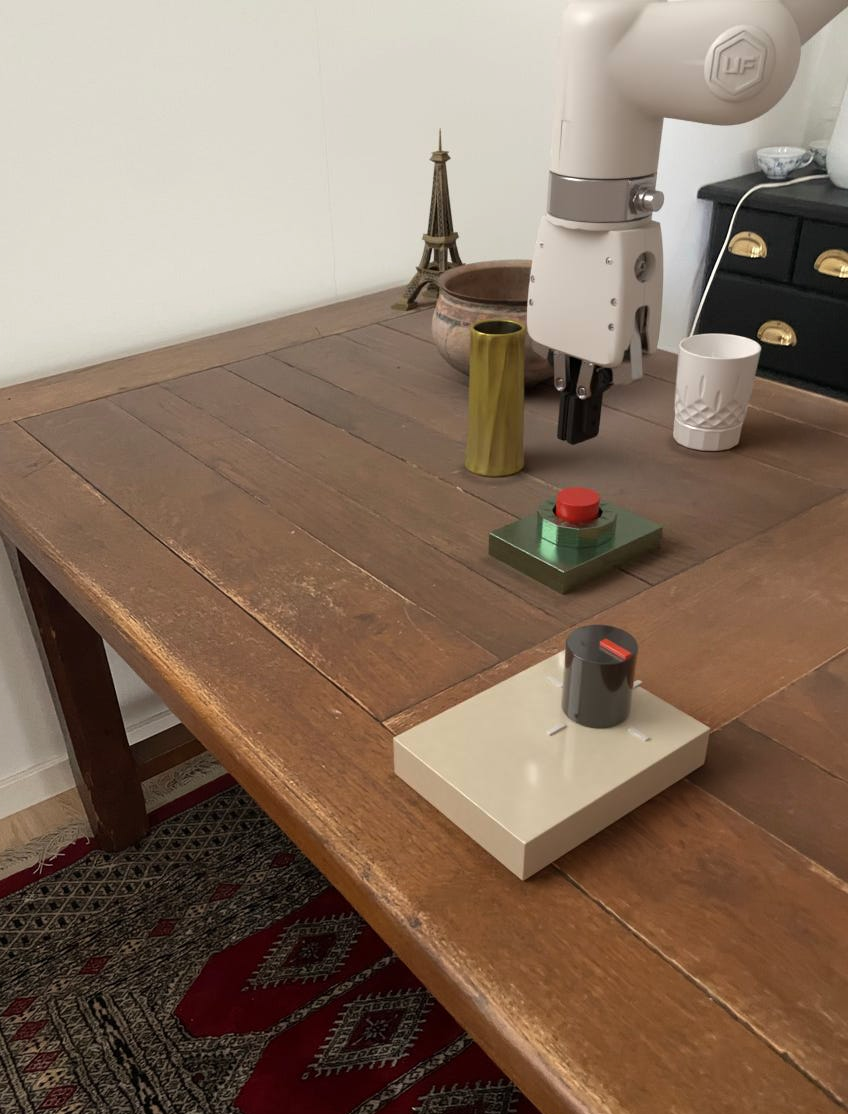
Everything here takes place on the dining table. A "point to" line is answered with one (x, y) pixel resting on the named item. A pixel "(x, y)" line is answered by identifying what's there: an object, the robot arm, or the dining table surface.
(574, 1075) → the dining table surface
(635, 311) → the robot arm
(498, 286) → the cooking pot
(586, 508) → the ignition button
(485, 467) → the vase
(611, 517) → the green button box
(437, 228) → the eiffel tower
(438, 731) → the beige knob base
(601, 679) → the stove knob
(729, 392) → the white cup
